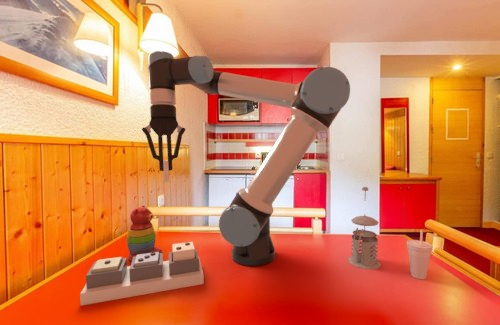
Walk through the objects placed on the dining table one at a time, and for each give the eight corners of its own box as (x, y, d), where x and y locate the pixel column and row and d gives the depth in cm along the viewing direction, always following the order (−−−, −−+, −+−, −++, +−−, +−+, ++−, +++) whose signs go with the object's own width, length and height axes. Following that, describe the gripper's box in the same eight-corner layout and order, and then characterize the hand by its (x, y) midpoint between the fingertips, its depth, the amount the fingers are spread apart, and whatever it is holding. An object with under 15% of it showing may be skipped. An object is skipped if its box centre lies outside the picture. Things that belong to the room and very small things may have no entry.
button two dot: (192, 254, 79) (192, 240, 79) (194, 262, 74) (194, 247, 73) (172, 257, 78) (172, 243, 77) (173, 265, 72) (172, 250, 72)
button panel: (198, 265, 83) (198, 245, 83) (203, 283, 72) (203, 261, 71) (94, 281, 74) (93, 259, 74) (80, 305, 63) (79, 279, 62)
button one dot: (122, 270, 73) (121, 255, 73) (118, 280, 68) (117, 264, 67) (98, 273, 72) (97, 258, 71) (92, 284, 66) (91, 268, 66)
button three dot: (159, 264, 76) (158, 250, 76) (158, 274, 71) (157, 259, 70) (137, 268, 75) (136, 253, 74) (134, 277, 69) (134, 262, 69)
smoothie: (423, 284, 70) (425, 234, 69) (400, 274, 76) (401, 227, 75) (436, 278, 73) (438, 230, 72) (413, 268, 79) (414, 224, 78)
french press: (384, 261, 84) (386, 186, 82) (373, 274, 75) (374, 191, 74) (354, 253, 91) (355, 183, 89) (341, 264, 82) (341, 187, 81)
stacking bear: (146, 264, 84) (144, 211, 83) (120, 262, 86) (117, 210, 85) (164, 251, 95) (162, 204, 94) (139, 249, 97) (137, 203, 96)
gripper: (183, 107, 85) (186, 178, 86) (141, 106, 80) (144, 181, 82) (185, 104, 77) (188, 181, 79) (139, 102, 73) (143, 184, 75)
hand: (166, 181), depth 80 cm, fingers closed
